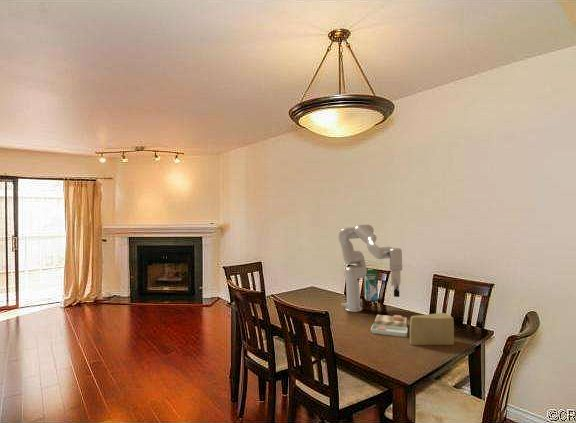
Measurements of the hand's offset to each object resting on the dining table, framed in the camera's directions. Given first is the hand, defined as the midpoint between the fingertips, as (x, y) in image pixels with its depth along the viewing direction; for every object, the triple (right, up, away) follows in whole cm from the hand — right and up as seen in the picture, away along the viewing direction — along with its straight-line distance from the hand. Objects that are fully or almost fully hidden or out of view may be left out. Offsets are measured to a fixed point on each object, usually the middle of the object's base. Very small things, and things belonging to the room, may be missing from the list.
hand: (396, 296), depth 209 cm
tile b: (-2, -13, -7) cm, 14 cm away
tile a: (-14, -15, -15) cm, 25 cm away
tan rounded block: (+7, -17, -33) cm, 37 cm away
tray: (-10, -17, -16) cm, 25 cm away
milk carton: (-1, -18, +58) cm, 61 cm away
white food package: (-5, -17, -5) cm, 19 cm away
